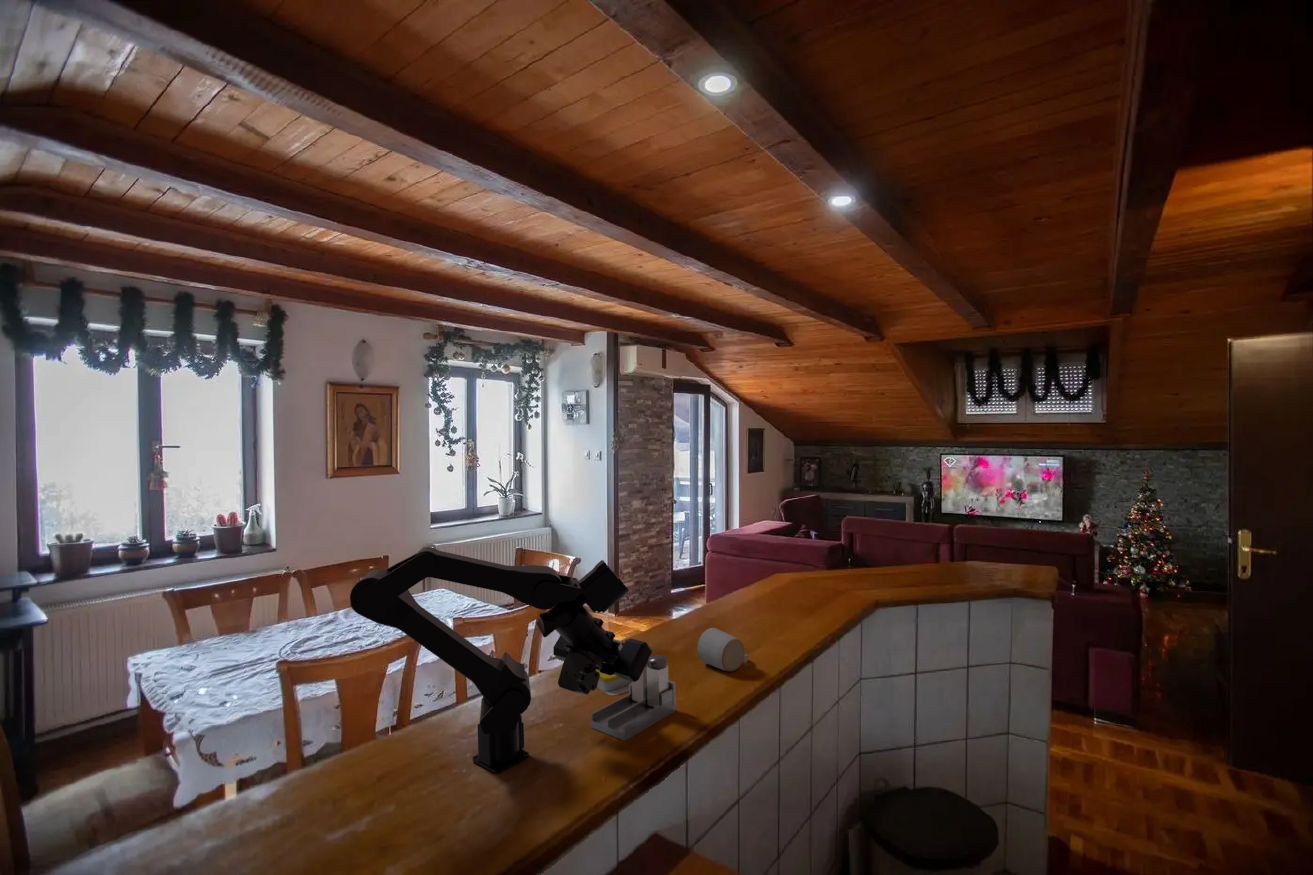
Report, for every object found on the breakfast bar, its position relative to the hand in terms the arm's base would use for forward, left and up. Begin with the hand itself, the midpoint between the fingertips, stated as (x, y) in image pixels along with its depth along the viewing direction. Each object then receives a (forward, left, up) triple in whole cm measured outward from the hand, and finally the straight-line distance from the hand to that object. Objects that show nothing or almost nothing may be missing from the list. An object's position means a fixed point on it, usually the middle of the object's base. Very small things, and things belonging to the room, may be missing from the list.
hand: (623, 675), depth 110 cm
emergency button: (+12, +15, -9) cm, 20 cm away
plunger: (+6, 0, -6) cm, 8 cm away
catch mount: (+1, -2, -8) cm, 8 cm away
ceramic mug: (+32, -1, -8) cm, 33 cm away
